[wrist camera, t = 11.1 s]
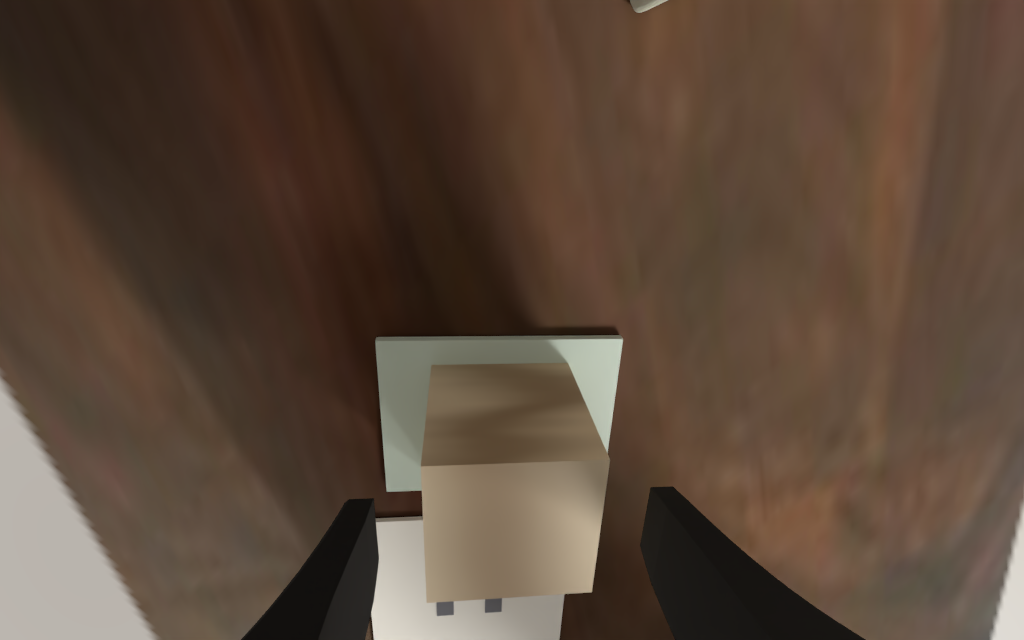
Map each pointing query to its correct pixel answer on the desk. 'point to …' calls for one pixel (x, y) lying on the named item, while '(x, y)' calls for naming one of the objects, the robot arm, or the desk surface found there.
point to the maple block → (510, 483)
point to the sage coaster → (412, 357)
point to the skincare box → (645, 4)
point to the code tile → (446, 625)
